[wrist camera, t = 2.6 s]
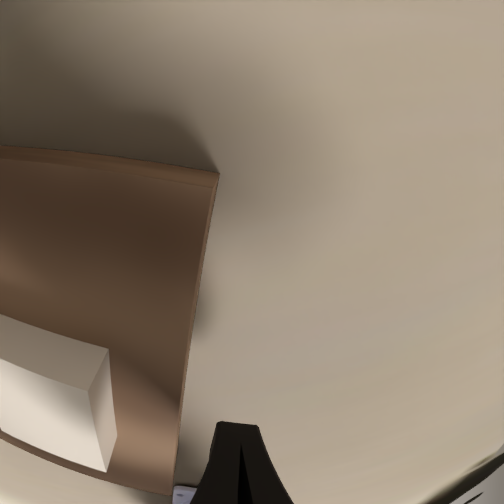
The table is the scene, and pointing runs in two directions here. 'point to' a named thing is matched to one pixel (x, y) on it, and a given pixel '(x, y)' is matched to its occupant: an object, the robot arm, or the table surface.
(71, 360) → the cream tile
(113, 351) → the walnut board
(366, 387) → the table surface
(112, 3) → the table surface
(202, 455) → the table surface
